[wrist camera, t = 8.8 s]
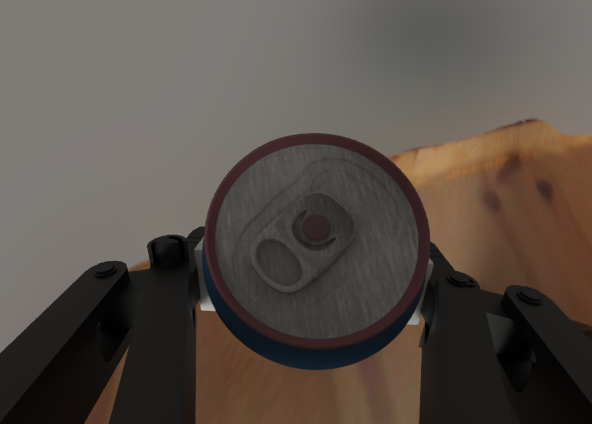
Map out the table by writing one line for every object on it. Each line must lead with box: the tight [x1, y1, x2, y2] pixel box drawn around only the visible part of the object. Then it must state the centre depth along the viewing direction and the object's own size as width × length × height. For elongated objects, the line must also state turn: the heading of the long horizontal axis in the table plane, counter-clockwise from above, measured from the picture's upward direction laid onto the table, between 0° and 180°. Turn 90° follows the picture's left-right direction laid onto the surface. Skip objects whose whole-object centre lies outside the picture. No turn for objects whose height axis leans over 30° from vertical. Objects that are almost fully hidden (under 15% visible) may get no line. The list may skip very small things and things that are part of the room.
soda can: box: [202, 133, 430, 370], centre depth 13 cm, size 7×7×12 cm
